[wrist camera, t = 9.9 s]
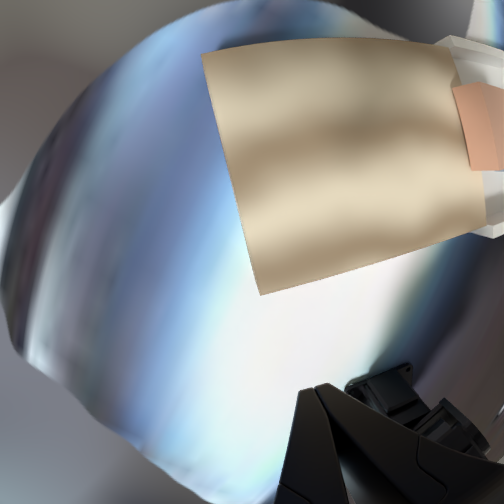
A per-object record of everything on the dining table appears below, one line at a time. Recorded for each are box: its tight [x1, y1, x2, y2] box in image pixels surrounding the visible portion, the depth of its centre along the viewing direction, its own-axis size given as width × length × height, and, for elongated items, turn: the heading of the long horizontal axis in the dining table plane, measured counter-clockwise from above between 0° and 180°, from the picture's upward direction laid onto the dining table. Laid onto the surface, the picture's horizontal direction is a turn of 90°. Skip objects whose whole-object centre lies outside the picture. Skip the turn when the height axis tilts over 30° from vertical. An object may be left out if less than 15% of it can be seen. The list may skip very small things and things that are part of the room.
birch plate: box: [201, 38, 487, 296], centre depth 16 cm, size 14×18×2 cm
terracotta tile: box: [452, 82, 504, 171], centre depth 15 cm, size 6×6×2 cm
